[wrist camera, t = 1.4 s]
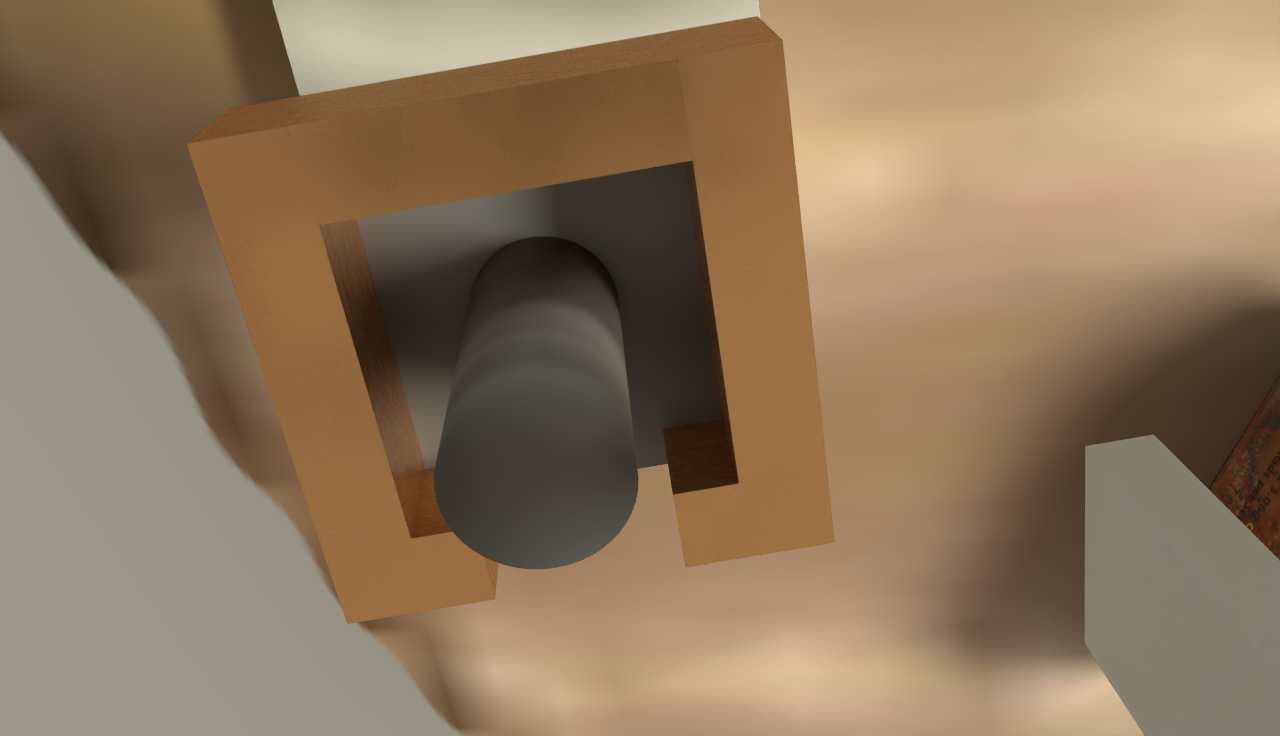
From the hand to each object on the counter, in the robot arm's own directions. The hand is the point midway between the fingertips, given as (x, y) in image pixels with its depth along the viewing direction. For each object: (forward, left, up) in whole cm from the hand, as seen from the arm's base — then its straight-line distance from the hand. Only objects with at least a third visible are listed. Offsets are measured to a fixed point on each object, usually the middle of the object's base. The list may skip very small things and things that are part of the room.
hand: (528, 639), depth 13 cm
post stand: (0, 0, -21) cm, 21 cm away
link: (0, 0, -10) cm, 10 cm away
